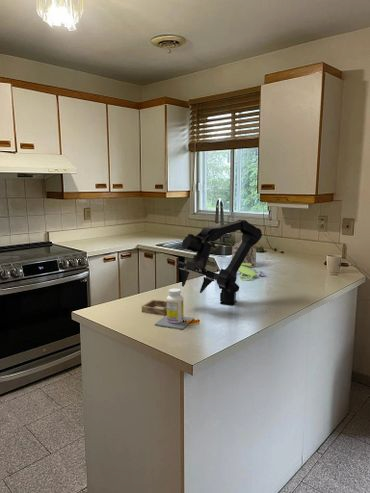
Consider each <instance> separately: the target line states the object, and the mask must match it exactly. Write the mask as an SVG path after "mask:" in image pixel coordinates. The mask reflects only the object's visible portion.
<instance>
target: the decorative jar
mask: <svg viewBox="0 0 370 493" xmlns="http://www.w3.org/2000/svg"><path fill="white" fill-rule="evenodd" d="M241 243H242V239H240V241H238V242H236V243H234V245H232V247H231V248H232V249H231V259H232V258H233V257H234V255H235V253H236V251H237V250H238V248H239V246H240V245H241ZM256 262H257V248H256V246H255V245H253V246H252V247H251V248H250V250H249V252H248V254H247V255H246V257H245V259H244V261H243V262H242V263H250V264H252V266H251V267H249V266H245V267H248V268H250V269H254V268H256V266H257V265H256V264H257V263H256Z"/></svg>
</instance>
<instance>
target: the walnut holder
mask: <svg viewBox="0 0 370 493" xmlns="http://www.w3.org/2000/svg"><path fill="white" fill-rule="evenodd" d="M162 307H163V308H162ZM145 312H146V313H147V314H153V315H160V316H166V315H167V300H159V299H151V300H149V301H148V302H146V303H145V304H143V305H142V306H141V313H145Z"/></svg>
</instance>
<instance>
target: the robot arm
mask: <svg viewBox="0 0 370 493" xmlns="http://www.w3.org/2000/svg"><path fill="white" fill-rule="evenodd" d="M237 231H239V232H240V233H241V234H242V235H241V240H242V243H241V245H240V246H239V248H238V250H237V251H236V253H235V255H234V257H233V258H232V257H231V260H230V262H229V264H228V266H227V267H226V268H225V269H223V268H221V269H220V270H219V272H218V273H216V272H214V271H211V270H209V269H208V270H207V264H208V263H209V262H210V259H209V258H210V255H211V253H212V249H217V246H216V243H215V242H216V241H218V240H219V239H221V238H222V237H223V236H225V235H228V234H231V233H234V232H237ZM262 236H263V234H262V230H261V229H260V228H258V227H257V226H254V225H253V224H252V223H250V222H248V221H247V220H245V219H236V220H234V221H232V222H228V223H225V224H221V225H218V226H204V227H203V228H202V229H201V231H200V232H199V233H198V234H196V235H194V234H193V233H192V234H191V233H188V234H187V236H185V237H184V238H183V240H182V244H181V246H182V248H183V249H184V250H187V251H190V252H192V253H195V254H194V255H193V257H192V258H189V259H186V262H183V261H181V260H180V261H178V262H177V264H176V266H175V267H176V268H178V269H177V270H179V271H180V275H181V287H184V286H185V285H186V283H187V279H189V278H188V277H189V274H190V271H192V272H195V273H198V274H200V275H204V276H203V282H202V284H201V287H200V289H199V293H200V294H202V293H203V292H204V291H205V290H206V288H207V287H208V286H209V285H210V284H211V283H212V282H215V281H216V284H217V286H218V289H219V290H220V291H221V292H220V293H219V301H220V302H219V304H220V305H228V306H234V305H235V304H236V303H238V300H237V292H239V290H240V285H238V283H236V282H237V279H238V278H237V277H238V276H237V275H238V273H237V272H239V271H238V270H239V268H240V266H241V264H242V262H243V261H244V259H245V257H246V255H247V254H248V252H249V250H250V248H251V247H252V246H253V245H254V246H255V245H256V244H258V243H259V242H260V240H261V239H262V238H263V237H262Z"/></svg>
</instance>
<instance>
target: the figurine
mask: <svg viewBox="0 0 370 493" xmlns="http://www.w3.org/2000/svg"><path fill="white" fill-rule="evenodd" d="M245 266H249V267H251V266H252V264H250V263H242V264H241V266H240V268H239V270H238V271H237V272H239V273H240V275H239V279H240V280H241V281H245V282H247V281H251V280H252V279H253V278H254V277H256V276H257V274H258V276H259V277H264V275H265V272H263V271H259V270H254V269H253V268H248V267H245ZM243 275H244V276H243Z"/></svg>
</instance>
